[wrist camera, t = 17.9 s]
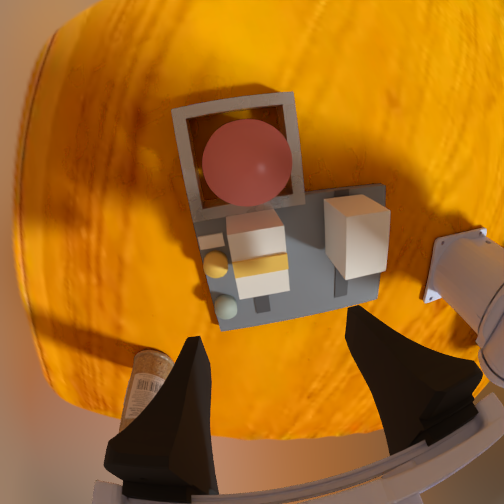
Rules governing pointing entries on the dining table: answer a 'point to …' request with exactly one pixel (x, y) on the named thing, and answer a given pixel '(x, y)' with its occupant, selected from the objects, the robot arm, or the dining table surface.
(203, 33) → the dining table surface
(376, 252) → the toggle
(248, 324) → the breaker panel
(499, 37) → the dining table surface
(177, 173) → the dining table surface
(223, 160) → the cap
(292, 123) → the frame
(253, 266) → the toggle
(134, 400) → the sprinkles bottle
